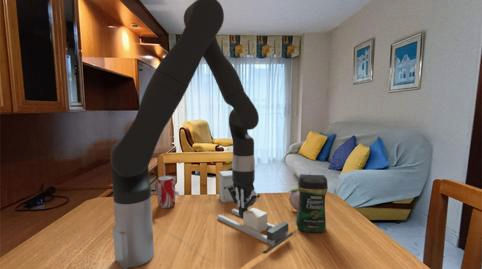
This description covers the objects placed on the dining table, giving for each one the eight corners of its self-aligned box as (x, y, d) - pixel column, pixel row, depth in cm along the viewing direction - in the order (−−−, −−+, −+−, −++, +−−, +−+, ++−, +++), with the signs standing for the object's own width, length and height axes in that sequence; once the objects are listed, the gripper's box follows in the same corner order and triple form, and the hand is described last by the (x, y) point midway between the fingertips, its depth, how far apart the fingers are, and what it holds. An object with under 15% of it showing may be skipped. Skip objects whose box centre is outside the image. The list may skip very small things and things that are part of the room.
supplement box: (222, 205, 105) (221, 175, 103) (218, 198, 112) (218, 170, 110) (239, 203, 107) (239, 174, 105) (235, 197, 114) (235, 169, 112)
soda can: (173, 209, 101) (171, 180, 100) (155, 209, 101) (153, 180, 100) (177, 202, 108) (176, 175, 107) (161, 202, 108) (159, 175, 107)
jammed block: (243, 228, 84) (243, 212, 83) (253, 222, 88) (253, 207, 87) (257, 234, 80) (257, 218, 79) (267, 228, 83) (267, 212, 83)
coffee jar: (297, 233, 83) (299, 178, 80) (295, 221, 91) (296, 171, 88) (328, 234, 82) (330, 179, 80) (322, 223, 90) (325, 172, 87)
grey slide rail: (211, 225, 88) (211, 211, 88) (239, 212, 98) (239, 200, 98) (266, 253, 72) (266, 237, 71) (292, 234, 82) (293, 220, 81)
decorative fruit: (292, 217, 94) (293, 191, 93) (286, 207, 102) (286, 184, 101) (317, 215, 96) (318, 190, 94) (308, 206, 104) (309, 183, 102)
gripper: (221, 166, 86) (221, 214, 89) (251, 173, 78) (250, 227, 80) (236, 162, 92) (236, 207, 94) (266, 169, 83) (265, 219, 85)
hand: (243, 216), depth 87 cm, fingers closed
